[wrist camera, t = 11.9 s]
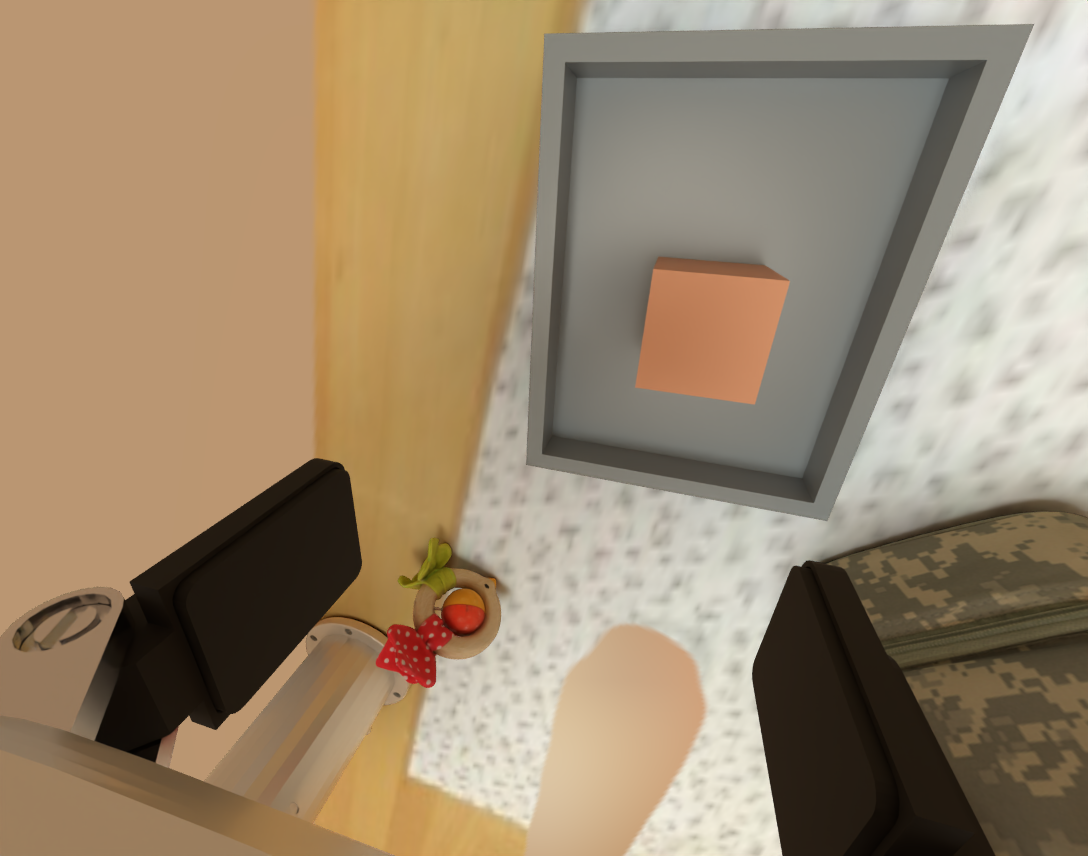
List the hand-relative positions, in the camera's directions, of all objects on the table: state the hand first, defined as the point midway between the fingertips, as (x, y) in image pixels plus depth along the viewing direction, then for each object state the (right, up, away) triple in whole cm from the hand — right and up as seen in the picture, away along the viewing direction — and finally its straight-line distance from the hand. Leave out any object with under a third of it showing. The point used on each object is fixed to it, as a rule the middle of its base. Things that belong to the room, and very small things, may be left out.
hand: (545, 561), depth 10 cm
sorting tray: (+9, +10, +16) cm, 21 cm away
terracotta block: (+9, +9, +16) cm, 20 cm away
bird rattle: (-7, -10, +31) cm, 33 cm away
